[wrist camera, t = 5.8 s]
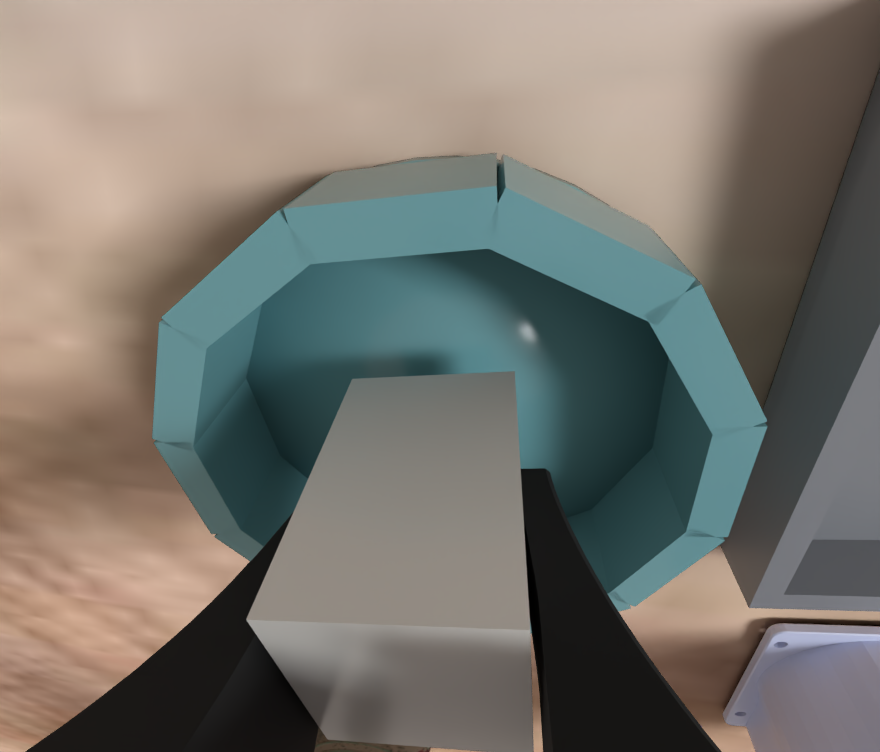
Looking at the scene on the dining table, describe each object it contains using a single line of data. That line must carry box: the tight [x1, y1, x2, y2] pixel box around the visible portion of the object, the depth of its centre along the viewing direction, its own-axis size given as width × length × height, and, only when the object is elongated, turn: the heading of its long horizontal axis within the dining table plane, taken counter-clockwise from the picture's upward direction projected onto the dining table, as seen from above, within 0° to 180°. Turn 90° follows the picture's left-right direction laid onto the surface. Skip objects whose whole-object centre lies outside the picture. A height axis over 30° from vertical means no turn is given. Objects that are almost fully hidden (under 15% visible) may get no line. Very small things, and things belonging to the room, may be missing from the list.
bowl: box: [152, 153, 768, 634], centre depth 13 cm, size 14×14×4 cm
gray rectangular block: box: [246, 371, 534, 752], centre depth 10 cm, size 4×4×6 cm
